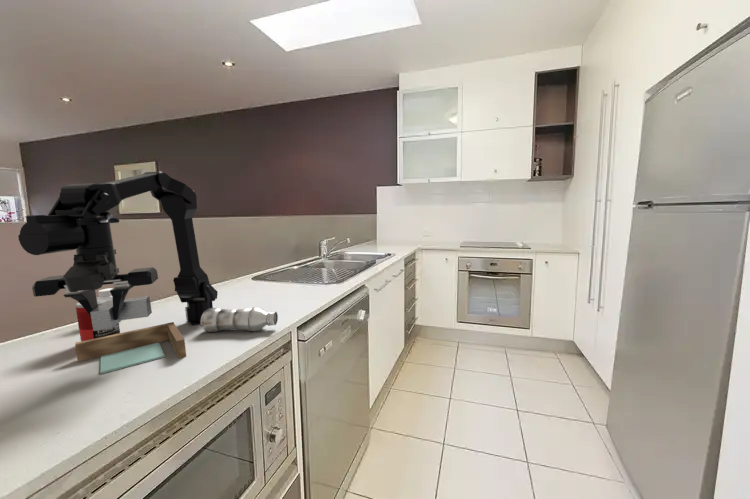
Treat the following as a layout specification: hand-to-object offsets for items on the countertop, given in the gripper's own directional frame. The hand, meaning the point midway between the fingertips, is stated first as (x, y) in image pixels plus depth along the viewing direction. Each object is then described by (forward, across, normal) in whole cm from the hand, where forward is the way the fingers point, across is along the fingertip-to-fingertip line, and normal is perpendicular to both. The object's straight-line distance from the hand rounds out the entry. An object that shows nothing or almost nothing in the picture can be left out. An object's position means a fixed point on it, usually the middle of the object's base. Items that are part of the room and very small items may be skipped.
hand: (107, 320), depth 66 cm
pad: (+10, +2, +4) cm, 11 cm away
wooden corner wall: (+10, +2, +4) cm, 11 cm away
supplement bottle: (+11, -12, +37) cm, 40 cm away
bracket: (+1, +2, +1) cm, 3 cm away
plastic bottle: (+8, +16, +15) cm, 23 cm away
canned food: (+11, -8, +18) cm, 23 cm away
